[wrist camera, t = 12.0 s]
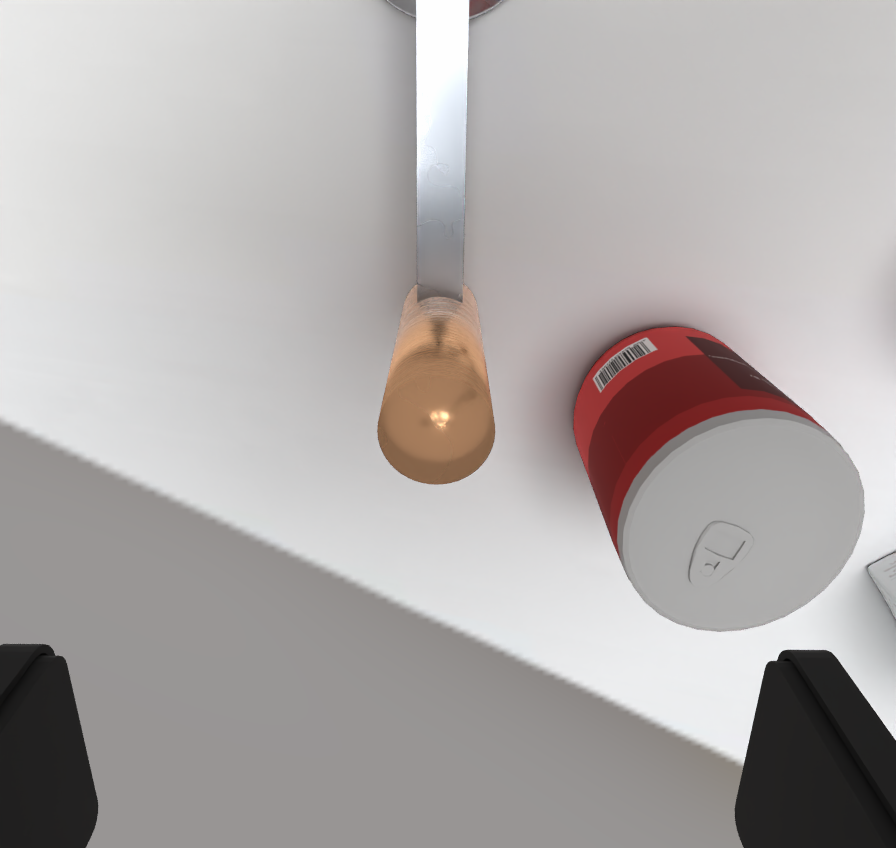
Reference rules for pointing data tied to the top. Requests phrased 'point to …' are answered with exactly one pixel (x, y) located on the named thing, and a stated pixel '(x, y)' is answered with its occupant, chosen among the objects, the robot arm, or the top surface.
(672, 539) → the canned food
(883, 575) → the supplement box
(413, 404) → the double handled crank lever
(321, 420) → the top surface
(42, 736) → the robot arm
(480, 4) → the pivot base
